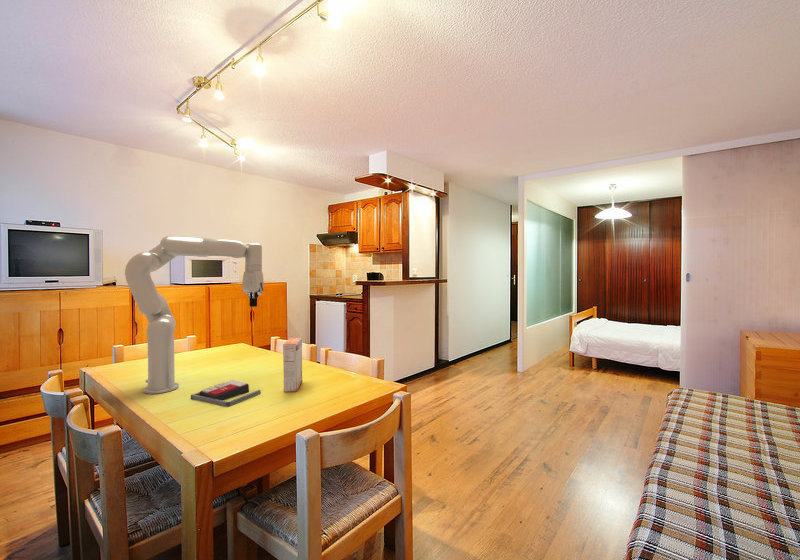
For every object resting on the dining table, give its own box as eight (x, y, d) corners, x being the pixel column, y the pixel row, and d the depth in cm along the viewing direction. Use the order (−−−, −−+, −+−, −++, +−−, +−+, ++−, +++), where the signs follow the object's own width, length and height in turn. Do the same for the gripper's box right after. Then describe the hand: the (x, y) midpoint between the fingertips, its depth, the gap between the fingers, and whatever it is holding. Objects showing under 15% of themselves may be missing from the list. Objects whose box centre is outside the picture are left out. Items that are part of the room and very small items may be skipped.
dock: (190, 398, 139) (190, 395, 139) (225, 387, 154) (225, 383, 154) (227, 406, 130) (227, 403, 130) (260, 393, 145) (260, 390, 145)
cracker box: (289, 382, 161) (289, 337, 160) (302, 382, 161) (302, 337, 161) (282, 392, 147) (282, 343, 146) (297, 392, 147) (297, 343, 147)
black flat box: (198, 389, 140) (232, 378, 153) (199, 400, 140) (233, 387, 153) (215, 394, 134) (248, 382, 147) (215, 405, 135) (249, 392, 148)
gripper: (236, 268, 167) (235, 306, 167) (258, 268, 161) (258, 307, 161) (248, 269, 174) (248, 305, 174) (270, 269, 168) (270, 306, 168)
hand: (253, 306), depth 168 cm, fingers closed
